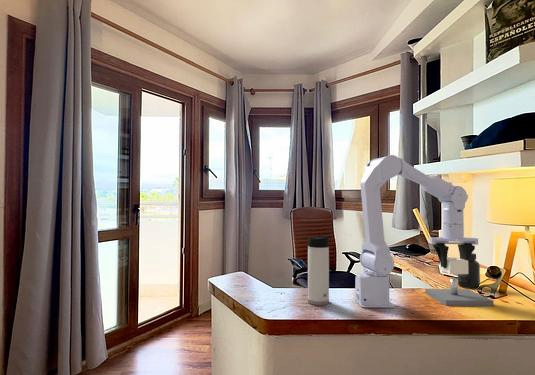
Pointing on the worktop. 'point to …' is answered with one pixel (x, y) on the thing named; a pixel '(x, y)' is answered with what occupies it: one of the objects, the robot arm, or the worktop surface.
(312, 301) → the travel mug
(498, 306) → the worktop surface
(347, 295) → the worktop surface
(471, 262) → the supplement bottle
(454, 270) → the collar
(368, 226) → the robot arm
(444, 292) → the shaft board
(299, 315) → the worktop surface
